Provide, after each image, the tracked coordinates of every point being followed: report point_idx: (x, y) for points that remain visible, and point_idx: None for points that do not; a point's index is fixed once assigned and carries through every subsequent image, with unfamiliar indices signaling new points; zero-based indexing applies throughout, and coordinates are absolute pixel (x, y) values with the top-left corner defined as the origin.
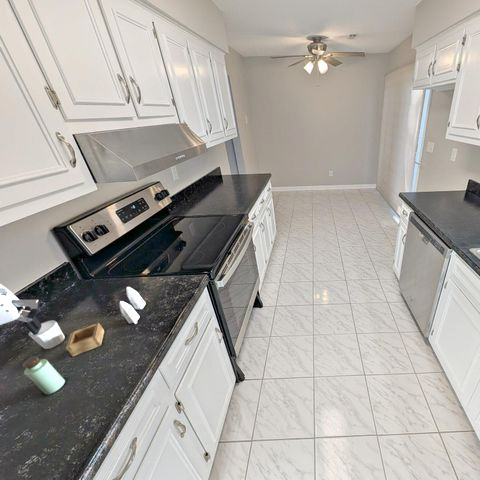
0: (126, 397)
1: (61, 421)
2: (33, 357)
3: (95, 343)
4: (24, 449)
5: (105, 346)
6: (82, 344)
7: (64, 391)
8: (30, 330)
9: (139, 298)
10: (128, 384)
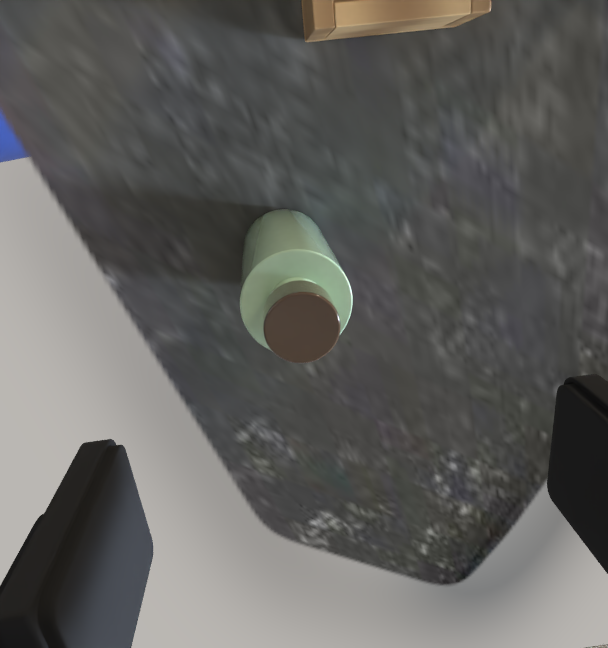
0: None
1: (370, 436)
2: (311, 303)
3: (449, 23)
4: (286, 485)
5: (479, 54)
6: (398, 24)
7: None
8: (598, 551)
9: None
10: None
